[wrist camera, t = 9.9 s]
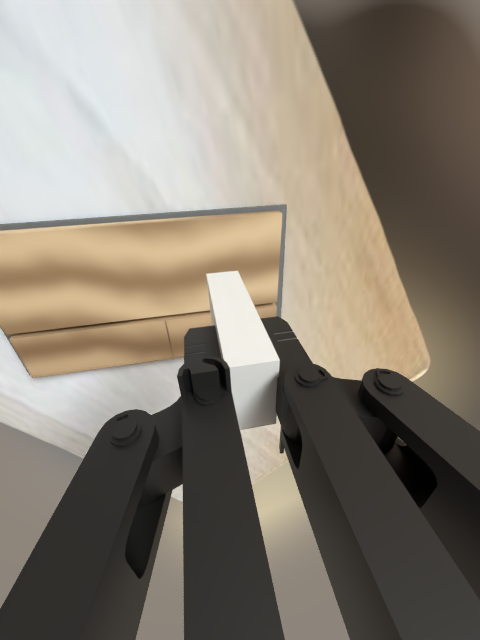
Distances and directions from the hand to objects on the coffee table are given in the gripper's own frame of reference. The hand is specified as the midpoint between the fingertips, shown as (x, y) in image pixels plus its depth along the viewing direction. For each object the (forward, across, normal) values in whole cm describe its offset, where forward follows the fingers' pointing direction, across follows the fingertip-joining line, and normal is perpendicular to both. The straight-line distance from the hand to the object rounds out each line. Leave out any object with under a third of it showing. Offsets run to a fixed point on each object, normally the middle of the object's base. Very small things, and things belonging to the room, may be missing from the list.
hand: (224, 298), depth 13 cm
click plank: (+16, -7, -4) cm, 18 cm away
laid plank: (+17, -7, -13) cm, 22 cm away
